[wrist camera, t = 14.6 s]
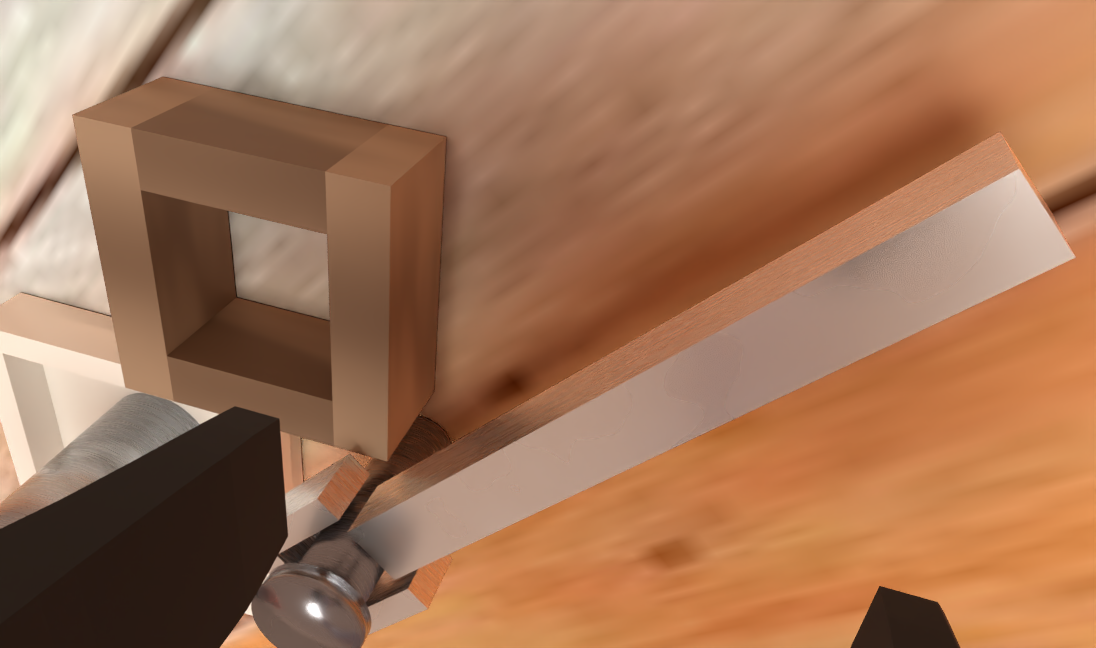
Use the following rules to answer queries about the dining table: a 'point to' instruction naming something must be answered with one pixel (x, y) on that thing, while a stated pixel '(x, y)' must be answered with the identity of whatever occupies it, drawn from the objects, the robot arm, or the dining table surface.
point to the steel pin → (100, 452)
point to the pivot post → (336, 566)
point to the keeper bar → (699, 370)
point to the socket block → (284, 197)
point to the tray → (70, 383)
